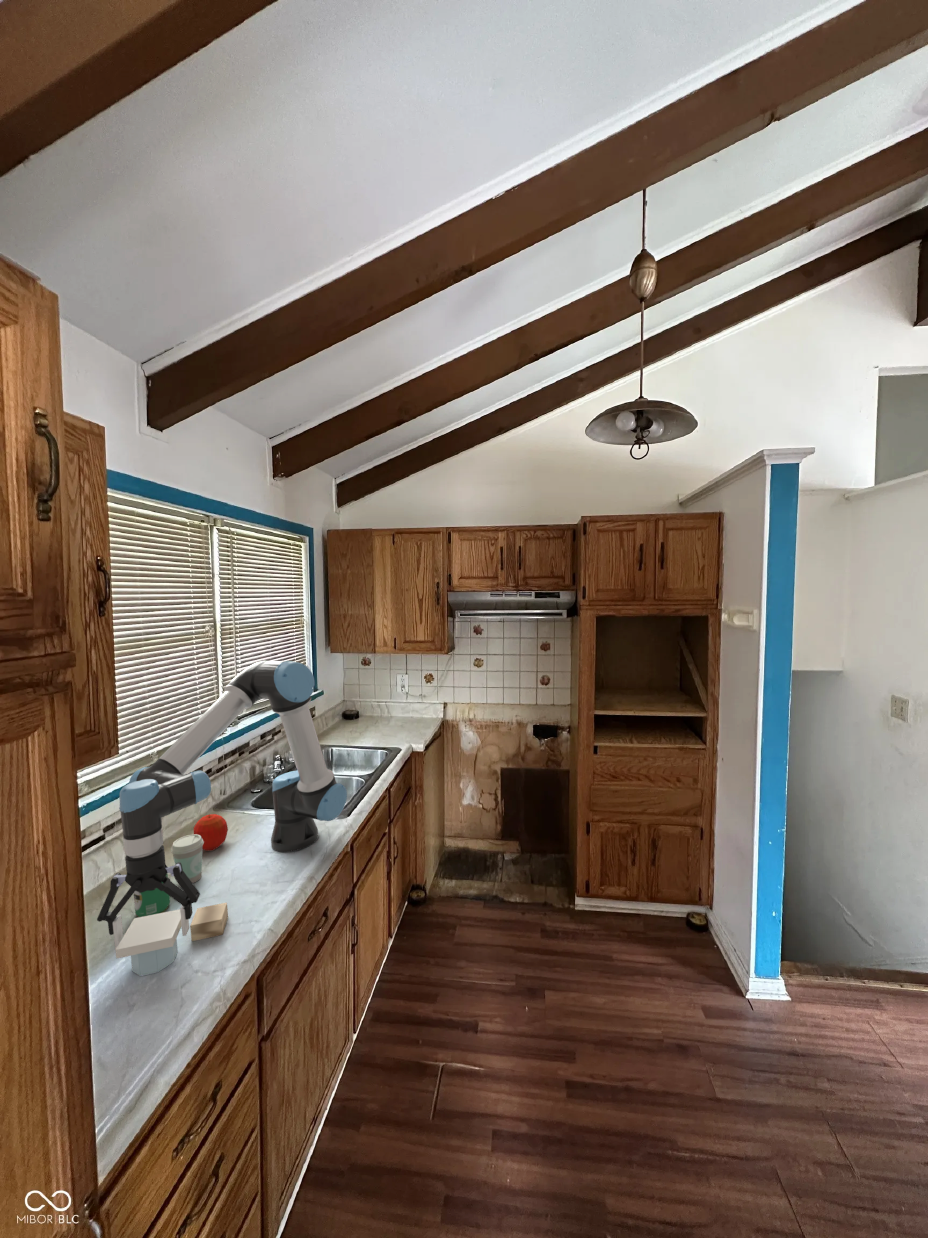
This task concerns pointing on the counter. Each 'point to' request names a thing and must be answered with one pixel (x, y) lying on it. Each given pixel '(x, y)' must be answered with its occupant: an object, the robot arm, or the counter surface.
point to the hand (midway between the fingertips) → (153, 939)
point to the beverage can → (151, 902)
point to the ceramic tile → (150, 933)
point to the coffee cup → (189, 855)
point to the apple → (211, 831)
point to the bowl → (153, 960)
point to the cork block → (209, 921)
